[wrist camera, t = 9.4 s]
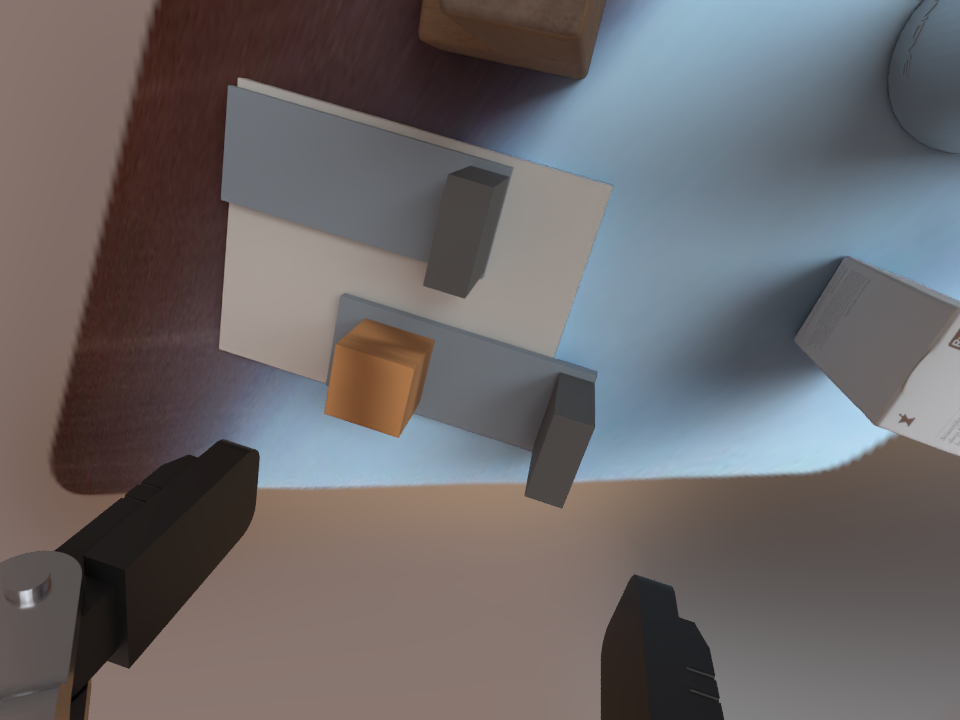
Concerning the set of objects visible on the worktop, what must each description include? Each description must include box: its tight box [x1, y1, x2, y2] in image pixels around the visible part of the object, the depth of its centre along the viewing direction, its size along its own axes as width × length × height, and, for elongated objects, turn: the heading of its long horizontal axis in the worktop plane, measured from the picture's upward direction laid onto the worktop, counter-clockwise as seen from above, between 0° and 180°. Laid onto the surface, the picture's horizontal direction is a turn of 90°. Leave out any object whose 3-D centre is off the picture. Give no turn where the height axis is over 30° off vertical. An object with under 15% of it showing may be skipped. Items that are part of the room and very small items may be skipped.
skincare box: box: [794, 256, 960, 456], centre depth 30 cm, size 6×4×12 cm
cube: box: [324, 318, 435, 438], centre depth 38 cm, size 5×5×5 cm
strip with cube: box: [326, 293, 597, 508], centre depth 37 cm, size 18×7×7 cm, turn 75°
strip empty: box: [221, 85, 514, 299], centre depth 33 cm, size 18×7×7 cm, turn 75°
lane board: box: [219, 78, 613, 383], centre depth 39 cm, size 24×19×1 cm
